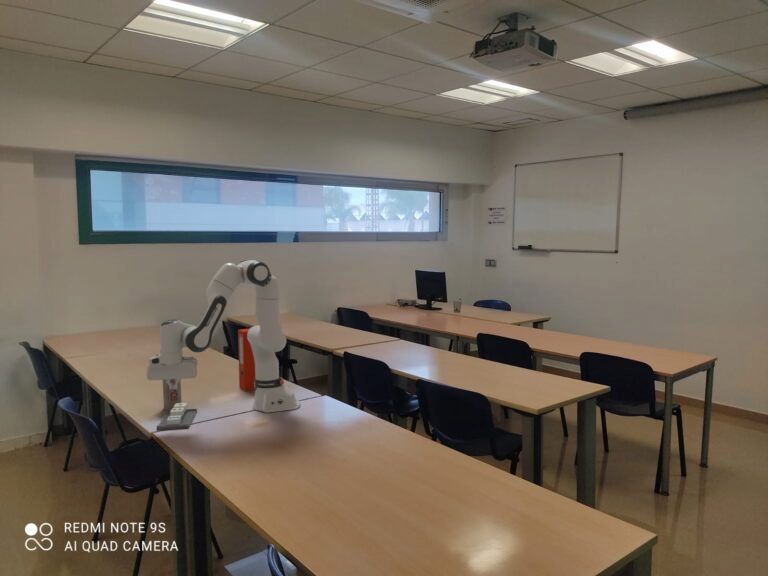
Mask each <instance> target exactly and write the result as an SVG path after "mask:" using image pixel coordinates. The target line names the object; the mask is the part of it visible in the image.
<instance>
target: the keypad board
mask: <svg viewBox="0 0 768 576" xmlns="http://www.w3.org/2000/svg"><path fill="white" fill-rule="evenodd" d="M166 411H167V412H166V413H165V415H164V416H163V417H162V419H161V421H160V422H159V423H158V425H156V431H165V430H166V431H167V430H177V429H178V430H181V429H190V427H191V425H192V423H193V421H194V419H195V416H196V415H197V412H198V408H197V407H196V408H187V409H186V411H184V412H185V413H184V414H183V416H181V419H182V421H181V423H180V424H172V425H167V419H168V417H169V416H170V411H171V410H166Z"/></svg>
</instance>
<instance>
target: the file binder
mask: <svg viewBox="0 0 768 576" xmlns="http://www.w3.org/2000/svg"><path fill="white" fill-rule="evenodd" d="M249 330H250V328H243V329H238V330H237V342H238V344H237V345H238V346H237V347H238V377H239V378H238V379H239V380H238V383H239V386H238V387H239V389H241V390H242V391H244V392H248V391H251V390H252V391H253V390H254V391H255V385H254V381H255V378H256V376H255V360H254V356H253V352H252V348H251V345H250V343H249V341H248V338H247V334H248V331H249Z"/></svg>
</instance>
